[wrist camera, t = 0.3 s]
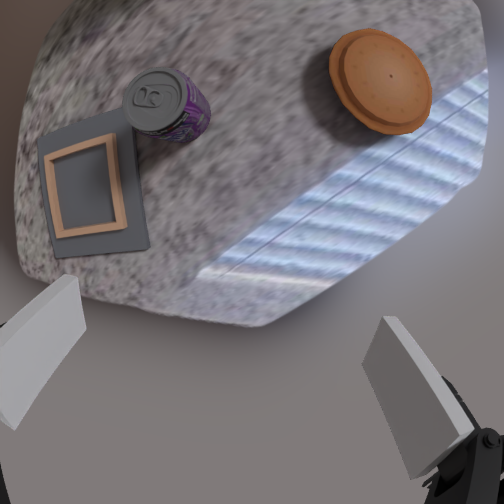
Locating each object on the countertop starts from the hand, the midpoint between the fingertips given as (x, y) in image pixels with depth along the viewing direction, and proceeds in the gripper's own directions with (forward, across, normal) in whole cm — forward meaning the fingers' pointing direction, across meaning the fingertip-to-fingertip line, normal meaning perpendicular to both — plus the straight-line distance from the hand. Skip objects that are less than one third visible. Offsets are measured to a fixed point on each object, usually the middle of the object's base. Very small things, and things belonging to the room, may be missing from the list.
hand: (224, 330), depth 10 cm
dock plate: (+26, -23, +1) cm, 35 cm away
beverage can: (+26, -9, +11) cm, 30 cm away
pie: (+26, +16, +21) cm, 37 cm away
